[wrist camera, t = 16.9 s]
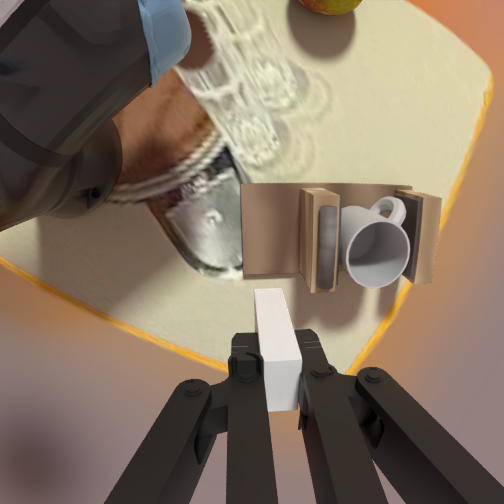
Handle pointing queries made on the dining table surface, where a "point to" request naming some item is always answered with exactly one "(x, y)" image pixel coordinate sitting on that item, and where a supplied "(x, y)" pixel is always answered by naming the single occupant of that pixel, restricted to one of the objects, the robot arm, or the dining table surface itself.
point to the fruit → (331, 6)
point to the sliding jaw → (320, 238)
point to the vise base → (364, 195)
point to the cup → (374, 243)
